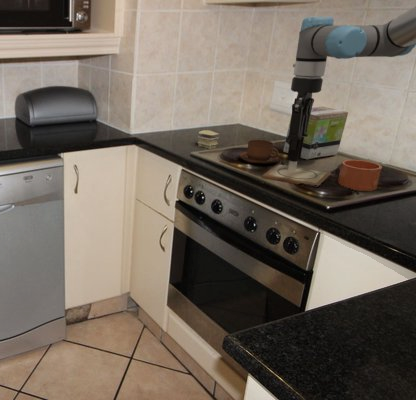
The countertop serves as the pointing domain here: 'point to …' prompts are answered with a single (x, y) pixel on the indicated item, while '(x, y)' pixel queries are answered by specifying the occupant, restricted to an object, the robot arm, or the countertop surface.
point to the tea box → (322, 133)
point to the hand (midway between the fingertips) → (293, 159)
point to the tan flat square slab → (296, 175)
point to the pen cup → (359, 175)
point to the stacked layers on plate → (207, 139)
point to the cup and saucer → (260, 152)
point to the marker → (293, 164)
